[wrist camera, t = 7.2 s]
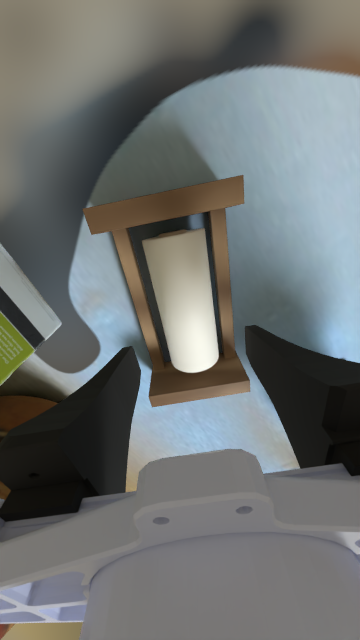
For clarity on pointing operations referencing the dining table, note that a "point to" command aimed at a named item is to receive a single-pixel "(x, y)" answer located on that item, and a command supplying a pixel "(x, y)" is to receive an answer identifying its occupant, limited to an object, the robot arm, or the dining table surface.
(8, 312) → the tea box
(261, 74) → the dining table surface
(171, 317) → the cylinder
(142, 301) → the holder
